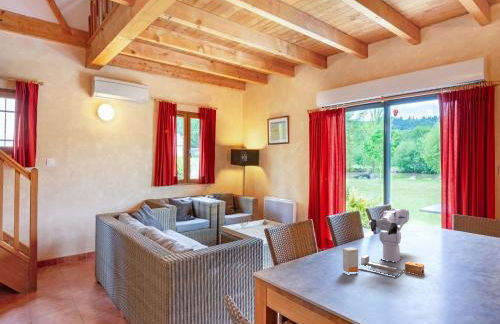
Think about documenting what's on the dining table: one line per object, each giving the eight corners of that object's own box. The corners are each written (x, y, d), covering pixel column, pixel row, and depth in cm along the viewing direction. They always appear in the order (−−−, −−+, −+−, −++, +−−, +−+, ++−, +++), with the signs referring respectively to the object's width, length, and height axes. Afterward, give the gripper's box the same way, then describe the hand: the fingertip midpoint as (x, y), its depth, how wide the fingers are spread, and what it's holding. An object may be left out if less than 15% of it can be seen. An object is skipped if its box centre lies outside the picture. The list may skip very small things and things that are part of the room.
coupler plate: (366, 262, 159) (366, 253, 159) (404, 271, 145) (404, 260, 145) (356, 268, 150) (356, 258, 150) (396, 278, 137) (395, 267, 137)
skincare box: (347, 275, 141) (347, 250, 141) (342, 272, 145) (342, 248, 145) (359, 274, 143) (358, 249, 143) (353, 271, 147) (353, 246, 147)
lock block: (405, 272, 144) (404, 263, 144) (408, 269, 147) (408, 261, 147) (421, 275, 139) (421, 266, 139) (424, 273, 143) (423, 264, 142)
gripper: (372, 212, 160) (365, 220, 149) (402, 217, 151) (397, 226, 141) (372, 224, 161) (364, 233, 150) (401, 230, 153) (396, 240, 142)
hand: (380, 231), depth 146 cm, fingers open, 7 cm apart
